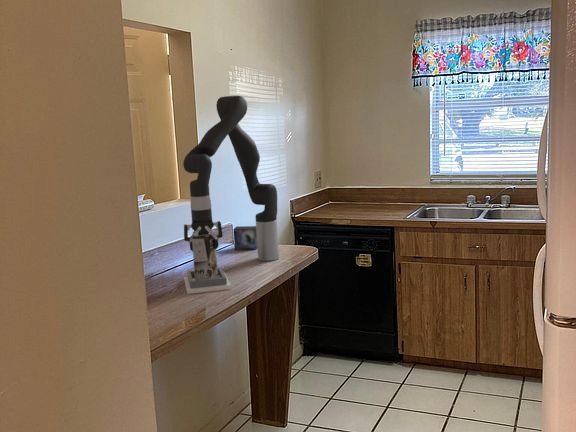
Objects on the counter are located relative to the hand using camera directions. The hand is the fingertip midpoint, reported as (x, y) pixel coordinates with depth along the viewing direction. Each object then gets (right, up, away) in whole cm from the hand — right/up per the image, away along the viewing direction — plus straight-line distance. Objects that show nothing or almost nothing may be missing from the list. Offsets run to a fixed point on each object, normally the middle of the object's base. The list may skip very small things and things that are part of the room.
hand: (204, 250), depth 226 cm
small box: (+12, -3, +62) cm, 63 cm away
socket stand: (+1, -13, +2) cm, 13 cm away
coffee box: (+1, -11, +2) cm, 11 cm away
